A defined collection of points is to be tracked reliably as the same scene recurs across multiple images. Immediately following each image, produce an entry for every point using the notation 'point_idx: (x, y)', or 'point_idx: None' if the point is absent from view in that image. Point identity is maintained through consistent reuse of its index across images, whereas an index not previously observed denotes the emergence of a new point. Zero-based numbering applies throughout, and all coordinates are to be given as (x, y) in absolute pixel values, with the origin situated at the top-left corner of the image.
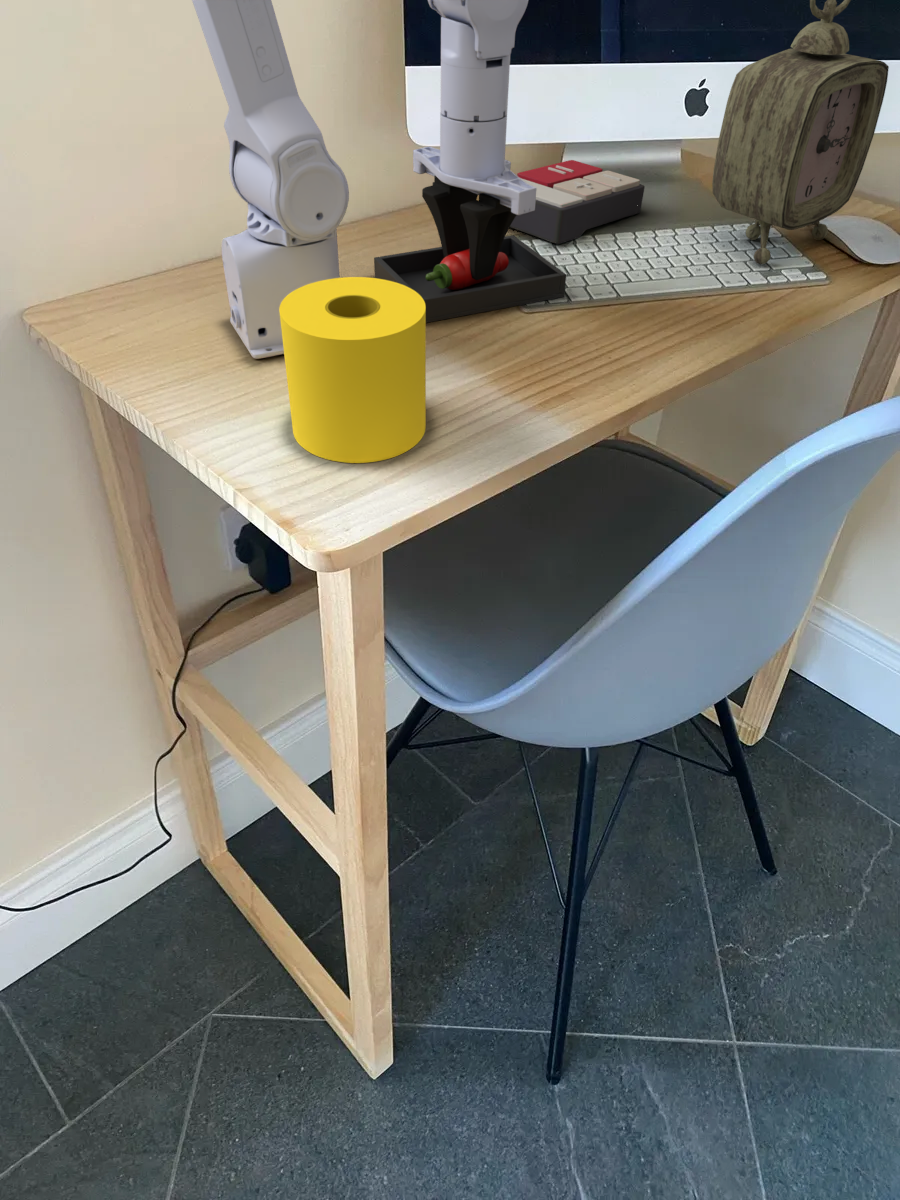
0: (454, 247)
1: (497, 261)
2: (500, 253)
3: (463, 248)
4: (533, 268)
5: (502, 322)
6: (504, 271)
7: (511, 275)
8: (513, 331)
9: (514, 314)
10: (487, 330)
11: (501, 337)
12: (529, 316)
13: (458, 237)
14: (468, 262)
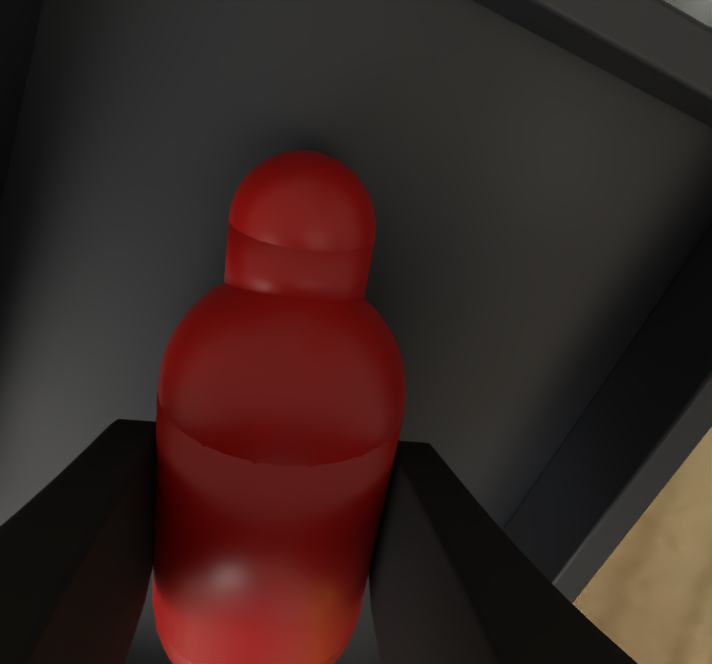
0: (125, 600)
1: (401, 383)
2: (319, 259)
3: (137, 514)
4: (498, 8)
5: (628, 542)
6: (303, 139)
7: (385, 160)
8: (705, 562)
9: None
10: (611, 616)
11: (685, 616)
12: (708, 433)
13: (104, 631)
14: (341, 616)
